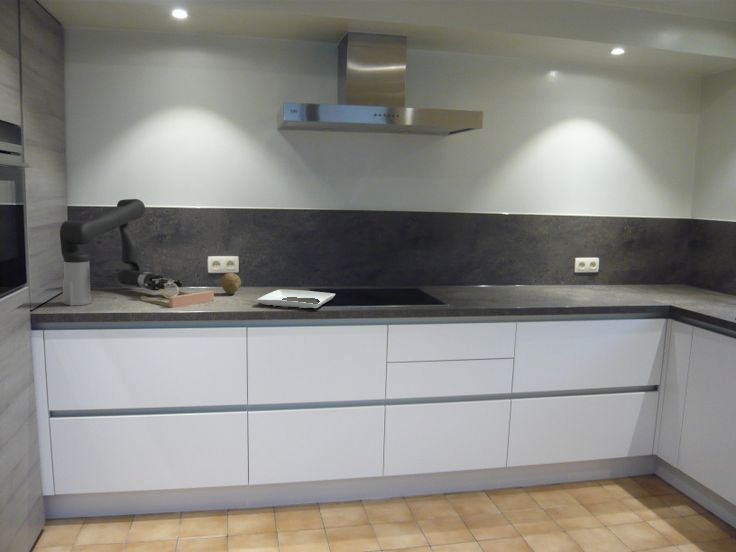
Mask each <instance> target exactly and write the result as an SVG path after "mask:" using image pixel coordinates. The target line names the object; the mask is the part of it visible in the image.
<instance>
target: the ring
mask: <svg viewBox="0 0 736 552" xmlns="http://www.w3.org/2000/svg"><path fill="white" fill-rule="evenodd" d="M165 282H166V281H165ZM170 284H172V285H174V286H173V287H175V288H176V293H175V294H174V296H178V295H179V291H180V287H178V286H177V285H176V284H175V283H173V281H172V282H171V280H168V281H167V282H166V283H165V284H164V285H165V286H167V285H170ZM160 290H161V294H162V296H163V297H164V298H166V299H169V297H172V296H171V295H170V296H168V295H166V294H165V292H164V289H160Z"/></svg>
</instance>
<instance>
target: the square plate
mask: <svg viewBox="0 0 736 552" xmlns="http://www.w3.org/2000/svg"><path fill="white" fill-rule="evenodd" d="M335 296H336V293H331V292H323V291H322V292H320V291H311V290H302V289H301V290H298V289H277V290H274V291H272V292H269V293H266V294H264V295H263V296H260V297H259V298H256V300H257V301H258V302H259V303H261V304H263V305H266V306H270V305H274V306H273V307H275V306H291V307H306V308H314V309H317V308H319V307H321V306H322V305H324V304H325V303H327V302H329V301H331V300H332V299H333V298H334V297H335ZM287 297H297V298H315V299H318V300H319V301H320V302H319V303H318V304H313V303H306V302H298V301H287V300H282V299H283V298H287Z"/></svg>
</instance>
